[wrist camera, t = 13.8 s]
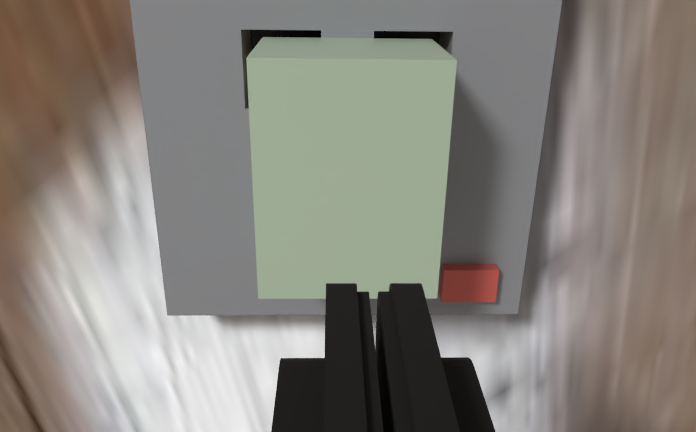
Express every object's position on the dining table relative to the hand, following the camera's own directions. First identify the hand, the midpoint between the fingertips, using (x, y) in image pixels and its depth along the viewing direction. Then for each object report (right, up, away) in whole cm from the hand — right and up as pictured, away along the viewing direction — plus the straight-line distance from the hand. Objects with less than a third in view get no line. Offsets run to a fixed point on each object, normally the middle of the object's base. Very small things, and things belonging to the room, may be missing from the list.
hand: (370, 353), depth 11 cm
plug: (-1, +6, +17) cm, 18 cm away
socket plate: (-1, +6, +17) cm, 18 cm away
